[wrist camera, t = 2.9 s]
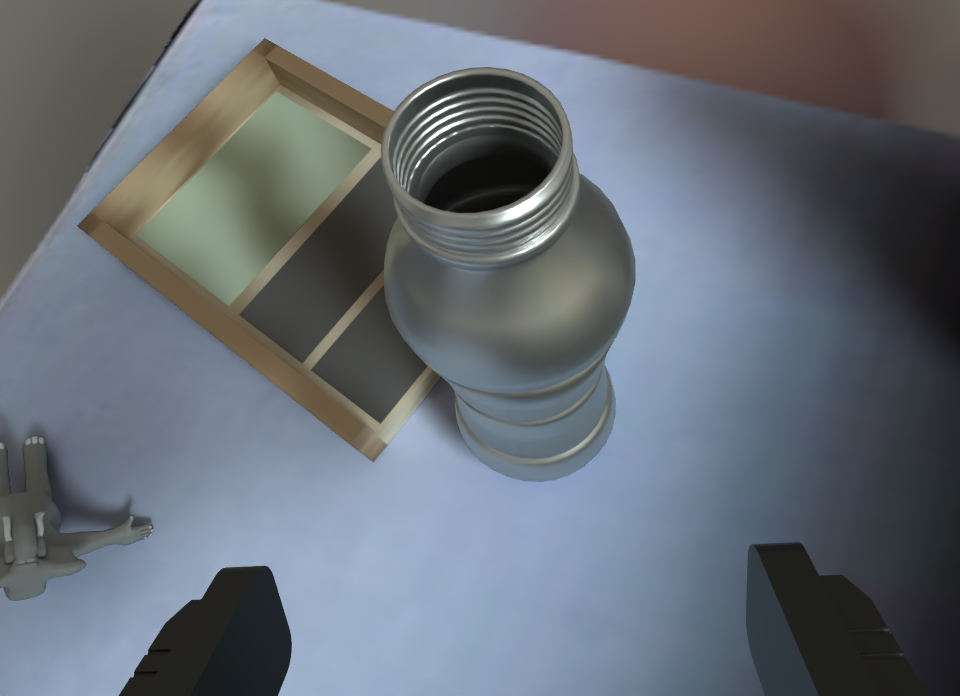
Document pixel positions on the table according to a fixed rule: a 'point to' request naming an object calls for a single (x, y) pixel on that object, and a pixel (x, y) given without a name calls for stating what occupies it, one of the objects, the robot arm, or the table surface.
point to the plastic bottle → (506, 268)
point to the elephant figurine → (43, 530)
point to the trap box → (279, 239)
